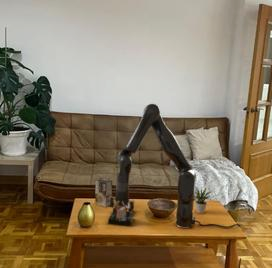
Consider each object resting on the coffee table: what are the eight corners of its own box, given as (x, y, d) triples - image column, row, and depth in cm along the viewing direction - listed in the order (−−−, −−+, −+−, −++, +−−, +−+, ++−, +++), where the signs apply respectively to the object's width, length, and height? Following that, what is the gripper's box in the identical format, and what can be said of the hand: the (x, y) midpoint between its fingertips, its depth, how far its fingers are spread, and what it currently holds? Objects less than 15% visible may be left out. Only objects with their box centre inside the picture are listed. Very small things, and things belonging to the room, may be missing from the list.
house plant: (212, 218, 223) (215, 193, 220) (189, 215, 225) (192, 190, 222) (211, 209, 237) (214, 185, 234) (190, 207, 239) (192, 183, 236)
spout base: (133, 218, 215) (133, 213, 215) (130, 227, 203) (130, 222, 203) (112, 216, 217) (112, 211, 216) (107, 225, 205) (107, 219, 204)
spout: (122, 214, 214) (123, 205, 213) (125, 214, 213) (126, 206, 212) (116, 218, 206) (117, 210, 205) (119, 219, 205) (120, 210, 205)
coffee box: (111, 204, 235) (113, 180, 233) (105, 207, 230) (106, 182, 227) (100, 201, 240) (101, 177, 237) (94, 203, 235) (95, 179, 232)
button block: (133, 211, 227) (133, 205, 226) (130, 216, 218) (131, 210, 217) (115, 209, 228) (116, 203, 227) (112, 214, 219) (113, 208, 218)
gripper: (136, 189, 207) (135, 216, 210) (114, 184, 212) (113, 211, 215) (131, 193, 200) (129, 220, 203) (108, 188, 206) (107, 215, 209)
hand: (121, 215), depth 209 cm, fingers open, 7 cm apart
